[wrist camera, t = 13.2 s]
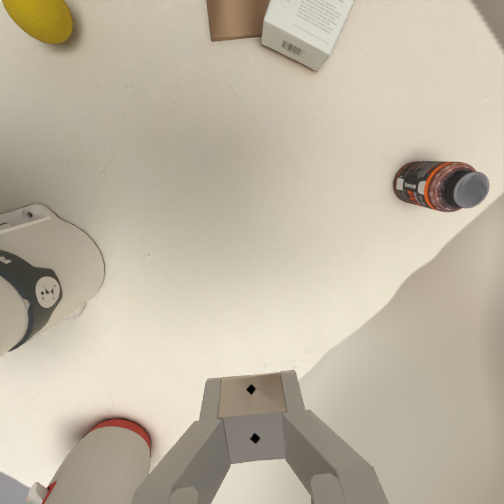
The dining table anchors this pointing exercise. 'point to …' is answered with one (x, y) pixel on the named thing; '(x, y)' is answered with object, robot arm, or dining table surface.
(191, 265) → the dining table surface
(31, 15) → the lemon
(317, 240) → the dining table surface
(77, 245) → the robot arm
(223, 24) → the walnut board
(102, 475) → the citrus juicer
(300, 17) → the small box
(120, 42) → the dining table surface
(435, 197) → the supplement bottle
